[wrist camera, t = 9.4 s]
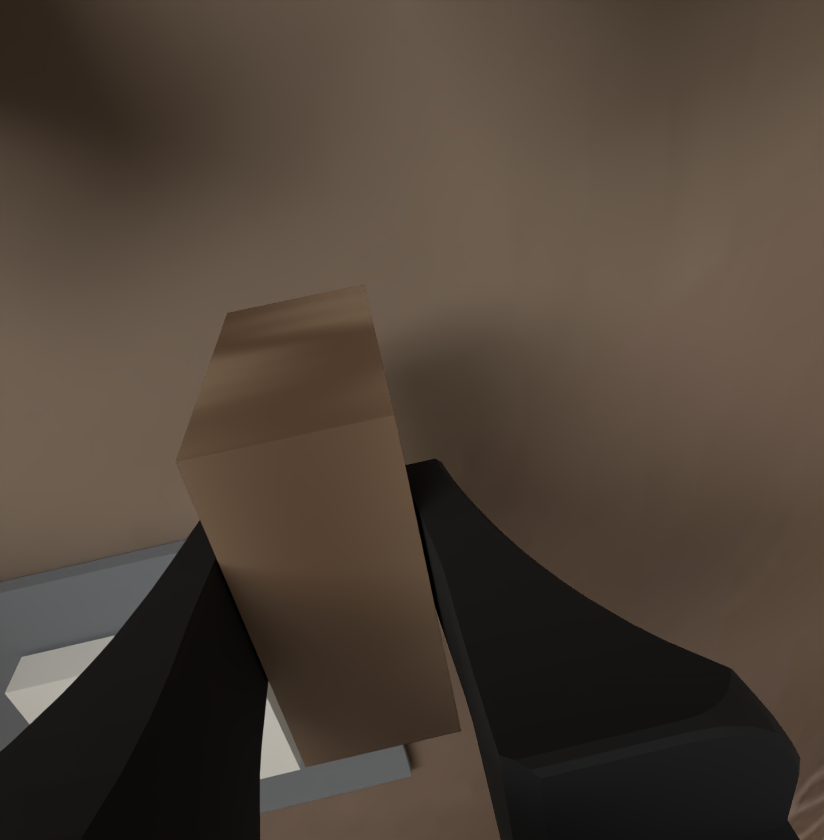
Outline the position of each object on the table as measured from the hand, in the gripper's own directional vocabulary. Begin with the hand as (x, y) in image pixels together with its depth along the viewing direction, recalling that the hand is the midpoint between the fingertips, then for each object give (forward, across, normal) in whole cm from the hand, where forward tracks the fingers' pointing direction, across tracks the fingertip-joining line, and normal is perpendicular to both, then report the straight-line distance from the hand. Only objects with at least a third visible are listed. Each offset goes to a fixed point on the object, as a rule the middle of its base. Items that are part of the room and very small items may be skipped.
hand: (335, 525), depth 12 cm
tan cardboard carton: (+4, 0, 0) cm, 4 cm away
